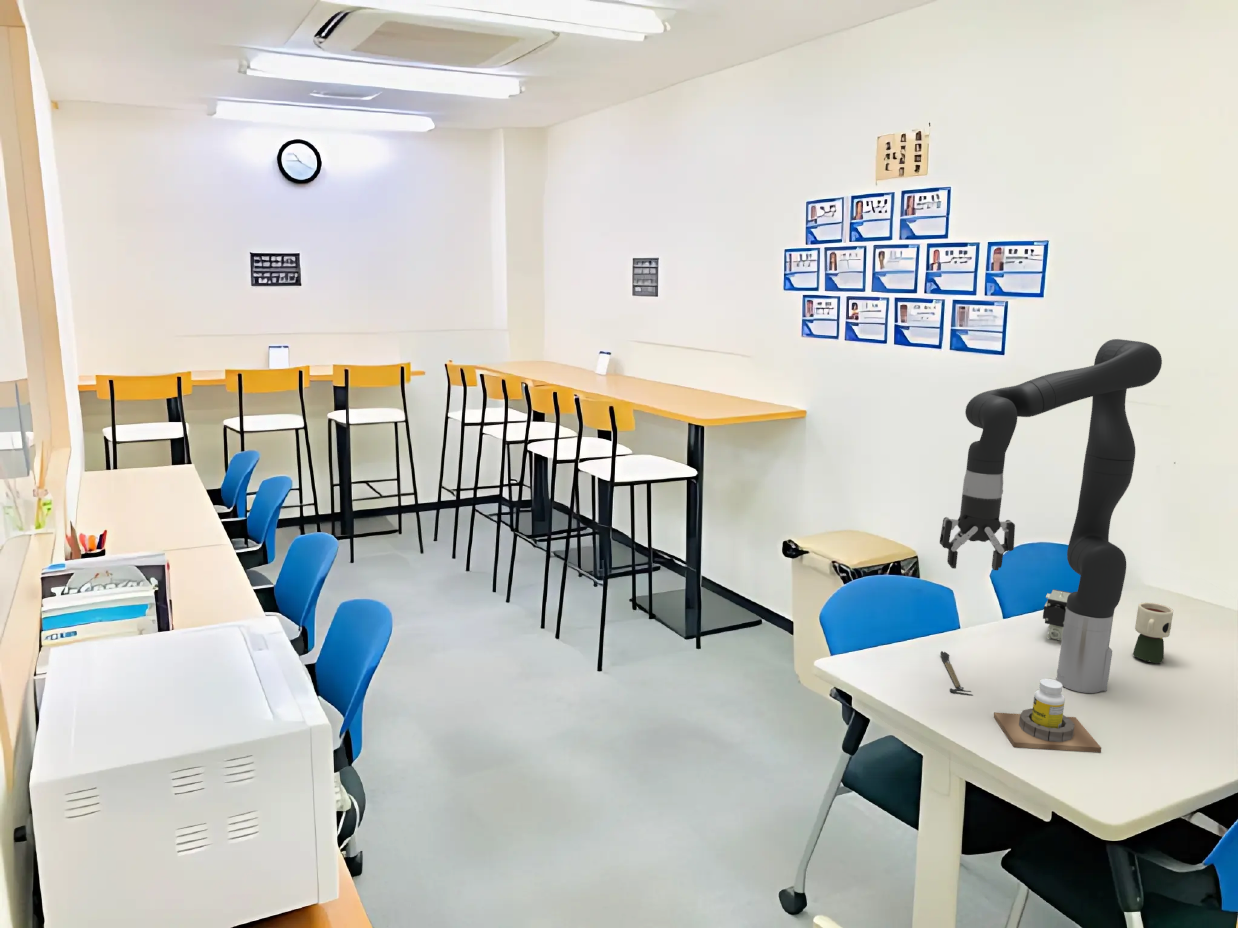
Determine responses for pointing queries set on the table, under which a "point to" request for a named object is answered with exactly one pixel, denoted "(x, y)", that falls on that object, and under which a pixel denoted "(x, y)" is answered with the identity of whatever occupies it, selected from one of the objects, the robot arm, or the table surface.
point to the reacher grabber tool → (952, 675)
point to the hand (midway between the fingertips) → (973, 568)
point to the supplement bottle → (1048, 704)
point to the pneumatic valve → (1055, 613)
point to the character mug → (1152, 631)
